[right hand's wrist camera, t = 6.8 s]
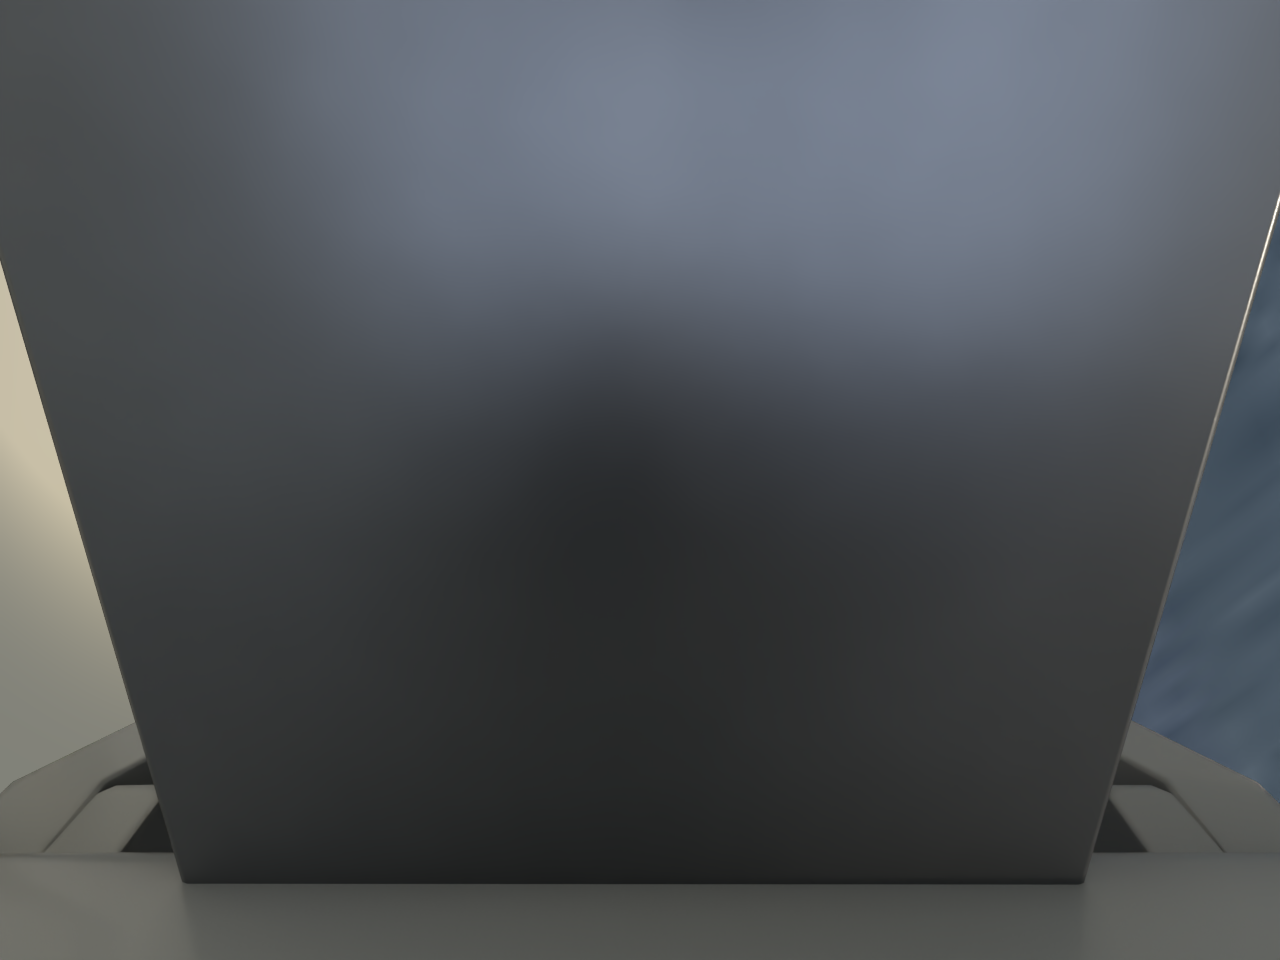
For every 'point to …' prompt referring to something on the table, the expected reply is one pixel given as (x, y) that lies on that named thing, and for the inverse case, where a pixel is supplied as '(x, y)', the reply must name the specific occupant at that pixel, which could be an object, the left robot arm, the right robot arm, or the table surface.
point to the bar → (635, 414)
